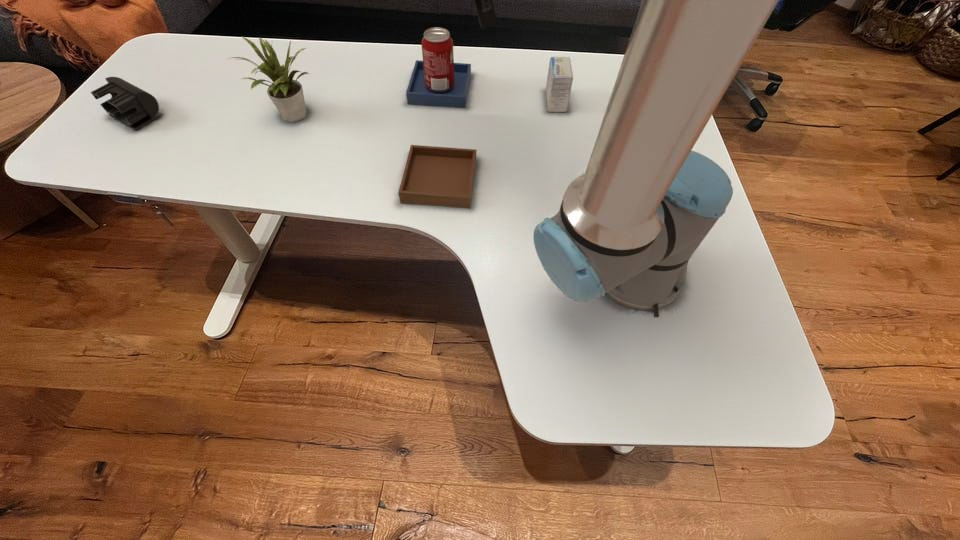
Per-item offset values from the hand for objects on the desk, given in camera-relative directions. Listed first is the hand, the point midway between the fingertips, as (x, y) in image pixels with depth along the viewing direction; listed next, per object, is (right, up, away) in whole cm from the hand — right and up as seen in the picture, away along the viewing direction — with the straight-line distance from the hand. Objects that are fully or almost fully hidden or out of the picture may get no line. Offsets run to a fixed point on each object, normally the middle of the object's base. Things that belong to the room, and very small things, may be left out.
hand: (474, 4), depth 75 cm
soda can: (-8, -3, +27) cm, 28 cm away
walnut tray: (-7, -28, +10) cm, 31 cm away
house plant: (-41, -12, +21) cm, 48 cm away
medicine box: (+18, -7, +25) cm, 32 cm away
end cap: (-74, -12, +20) cm, 77 cm away
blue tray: (-8, -3, +27) cm, 29 cm away
